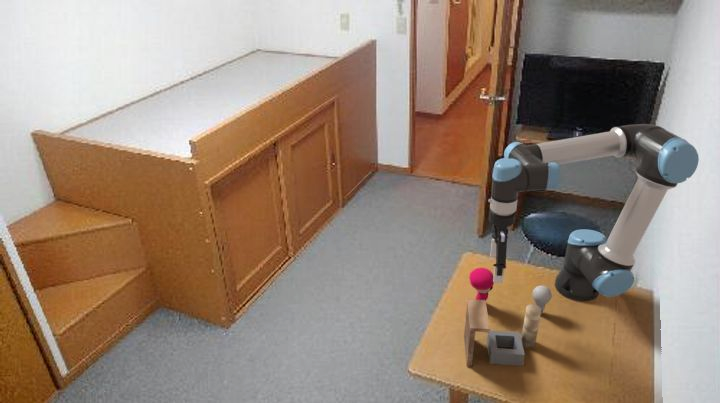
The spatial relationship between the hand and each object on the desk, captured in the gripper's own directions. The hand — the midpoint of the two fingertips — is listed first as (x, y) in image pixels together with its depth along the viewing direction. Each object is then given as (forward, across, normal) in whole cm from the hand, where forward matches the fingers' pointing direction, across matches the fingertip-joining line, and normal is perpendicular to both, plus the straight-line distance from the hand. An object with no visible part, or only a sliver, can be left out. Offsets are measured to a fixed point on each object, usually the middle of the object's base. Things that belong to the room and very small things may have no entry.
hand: (496, 269), depth 170 cm
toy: (+23, -10, -3) cm, 25 cm away
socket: (+23, +12, +4) cm, 26 cm away
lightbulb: (+24, -8, +17) cm, 30 cm away
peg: (+23, +7, +11) cm, 27 cm away
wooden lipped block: (+23, +12, -6) cm, 27 cm away
